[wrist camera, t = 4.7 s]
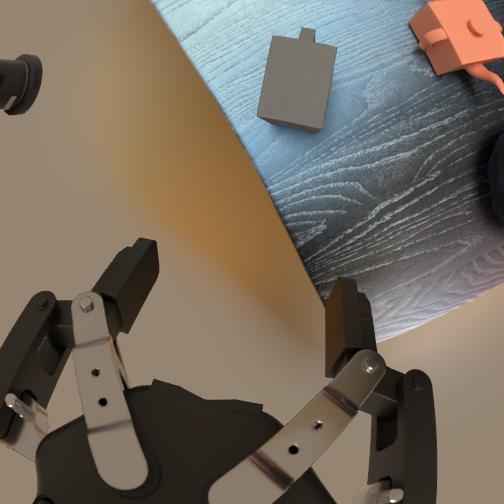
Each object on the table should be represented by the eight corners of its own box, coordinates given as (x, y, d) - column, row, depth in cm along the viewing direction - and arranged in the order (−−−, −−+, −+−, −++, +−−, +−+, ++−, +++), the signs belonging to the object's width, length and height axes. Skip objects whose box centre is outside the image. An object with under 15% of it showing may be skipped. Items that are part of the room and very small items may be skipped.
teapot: (437, 111, 26) (473, 106, 18) (377, 0, 22) (394, -32, 14) (502, 91, 22) (540, 87, 14) (448, -10, 18) (475, -35, 10)
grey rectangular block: (270, 123, 30) (256, 116, 21) (285, 49, 26) (276, 14, 17) (316, 133, 29) (322, 129, 20) (330, 58, 26) (340, 26, 17)
